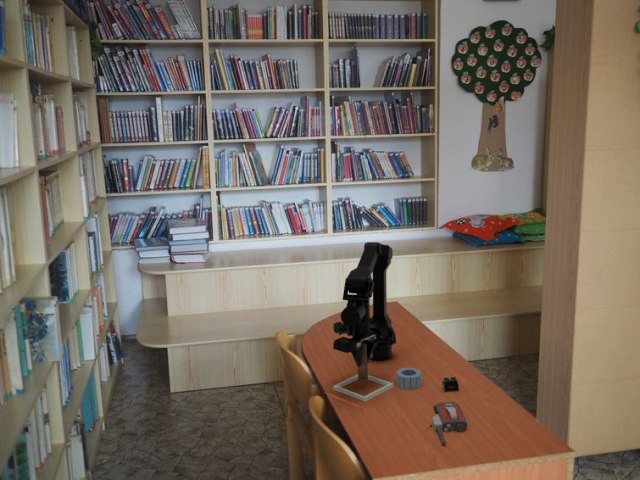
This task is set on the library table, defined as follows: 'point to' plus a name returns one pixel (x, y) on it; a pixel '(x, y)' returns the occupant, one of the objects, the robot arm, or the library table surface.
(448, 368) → the library table surface
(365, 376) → the dowel
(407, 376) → the ring
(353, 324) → the robot arm
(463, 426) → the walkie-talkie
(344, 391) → the tray
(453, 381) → the black angular piece
